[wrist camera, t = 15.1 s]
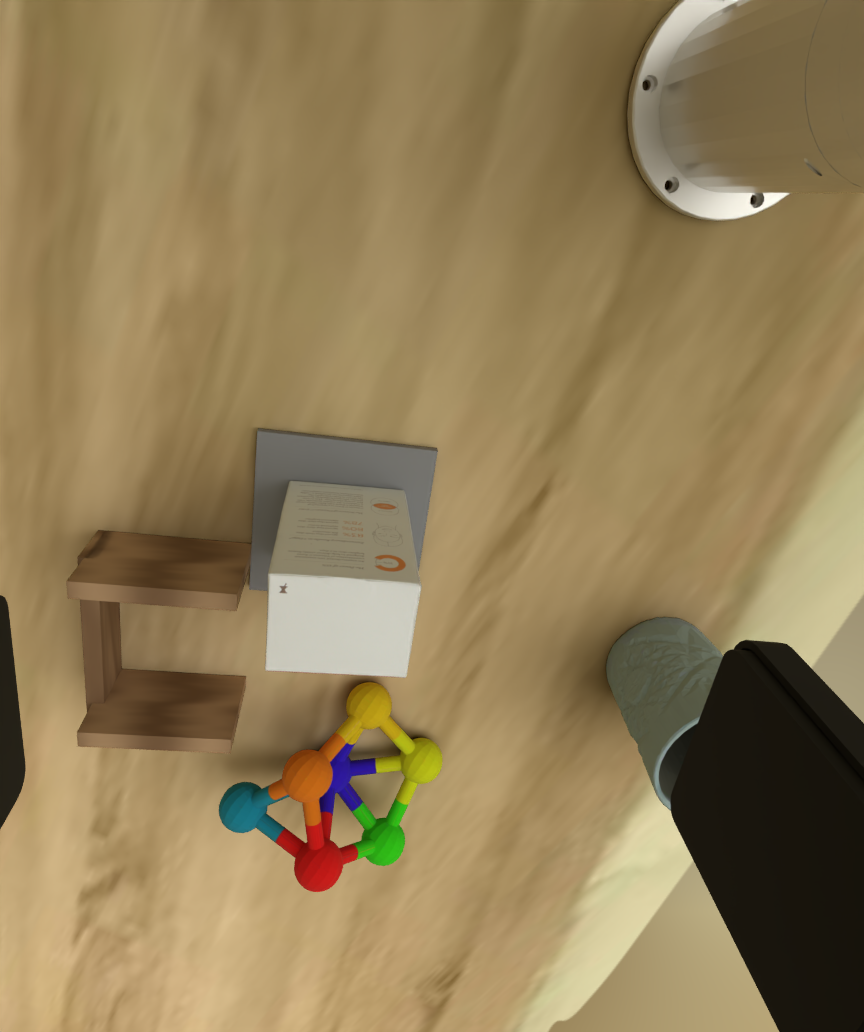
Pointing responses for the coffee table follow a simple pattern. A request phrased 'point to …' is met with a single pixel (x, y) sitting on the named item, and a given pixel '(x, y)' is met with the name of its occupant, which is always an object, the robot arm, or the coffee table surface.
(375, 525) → the small box
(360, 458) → the coaster
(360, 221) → the coffee table surface
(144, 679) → the slot
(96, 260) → the coffee table surface
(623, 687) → the blue-grey cup
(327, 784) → the molecular model
